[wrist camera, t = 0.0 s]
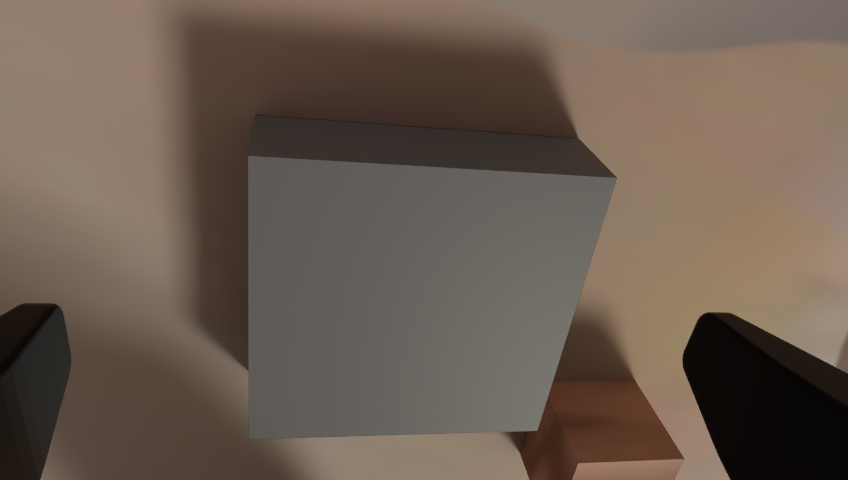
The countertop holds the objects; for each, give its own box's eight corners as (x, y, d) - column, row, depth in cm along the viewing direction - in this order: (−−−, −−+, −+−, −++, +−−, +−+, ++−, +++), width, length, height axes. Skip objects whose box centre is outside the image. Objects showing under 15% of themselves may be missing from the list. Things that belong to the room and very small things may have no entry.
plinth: (514, 374, 30) (537, 430, 27) (254, 377, 28) (248, 439, 25) (579, 138, 24) (617, 177, 21) (255, 115, 22) (247, 155, 19)
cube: (606, 448, 34) (648, 531, 30) (519, 451, 33) (550, 537, 29) (634, 379, 32) (684, 459, 28) (540, 380, 31) (578, 463, 27)
